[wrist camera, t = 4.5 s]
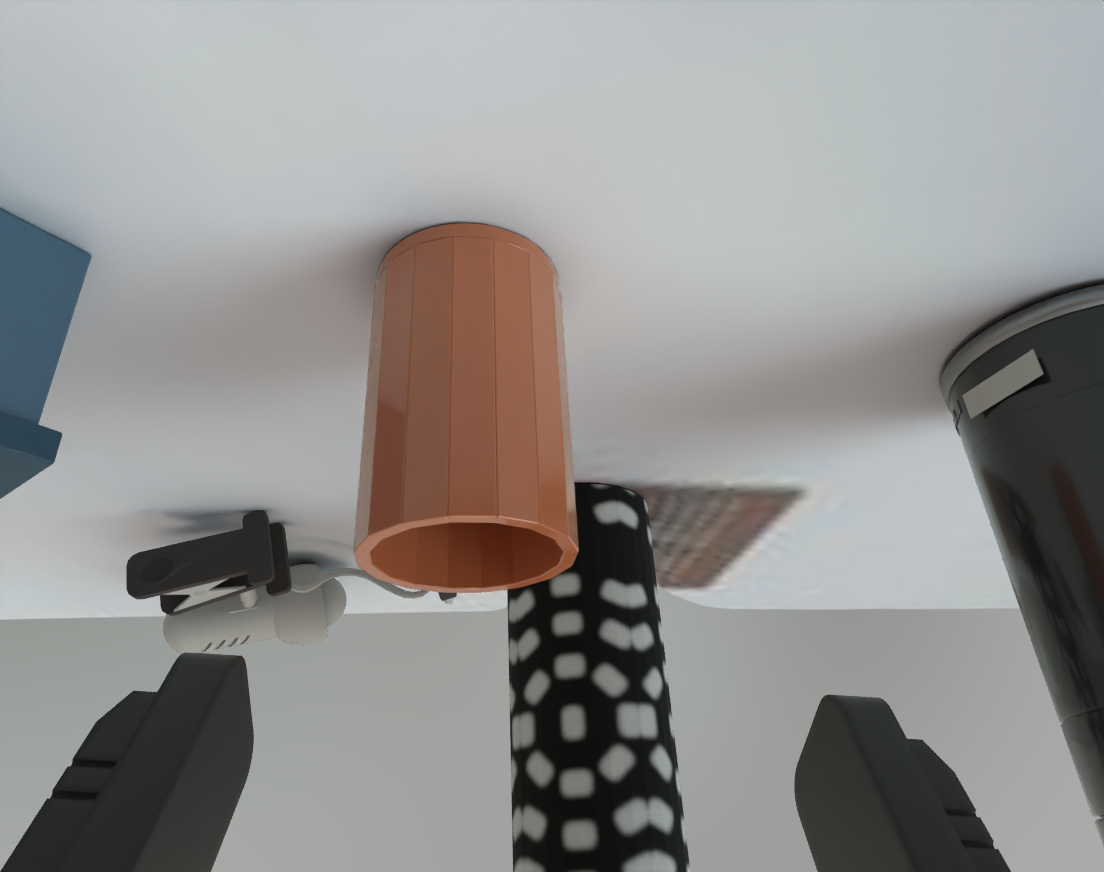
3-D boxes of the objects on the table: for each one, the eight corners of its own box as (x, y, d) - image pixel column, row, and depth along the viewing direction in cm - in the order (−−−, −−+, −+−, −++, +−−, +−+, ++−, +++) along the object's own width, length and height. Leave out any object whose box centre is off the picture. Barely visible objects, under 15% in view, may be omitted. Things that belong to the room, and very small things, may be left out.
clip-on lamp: (454, 473, 46) (120, 523, 40) (479, 568, 43) (120, 637, 37) (440, 558, 56) (167, 608, 50) (459, 641, 52) (170, 705, 47)
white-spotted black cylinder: (486, 496, 42) (489, 925, 33) (634, 473, 41) (684, 918, 31) (528, 546, 49) (541, 911, 40) (657, 528, 48) (702, 904, 38)
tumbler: (474, 190, 23) (474, 494, 18) (593, 293, 27) (619, 559, 23) (338, 281, 26) (307, 559, 21) (464, 360, 31) (462, 604, 26)
